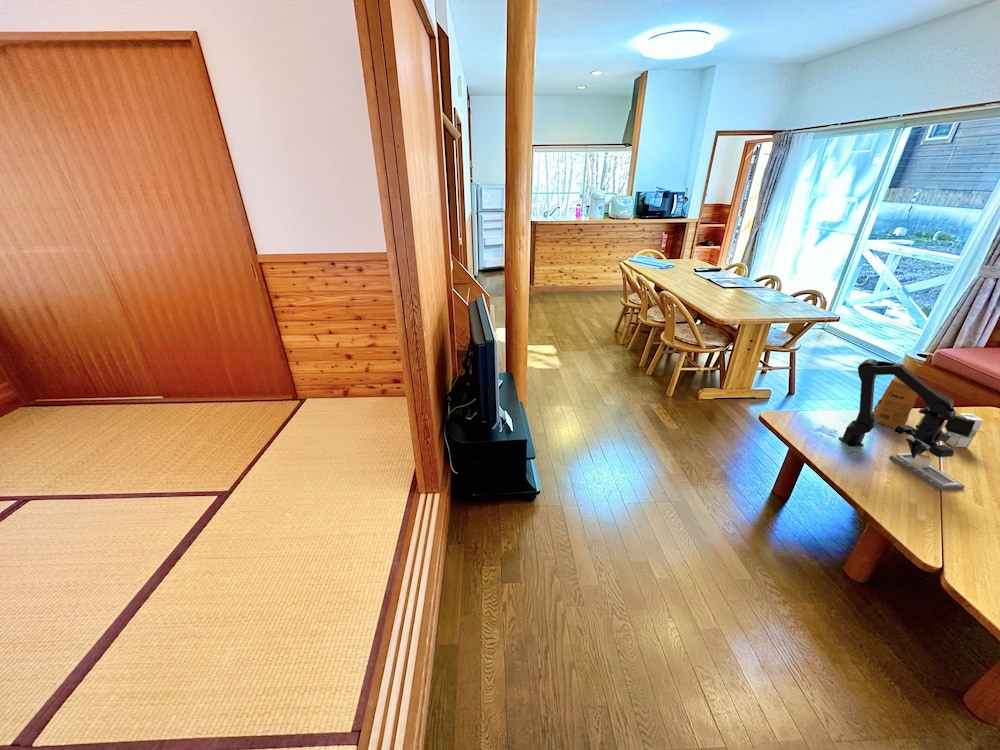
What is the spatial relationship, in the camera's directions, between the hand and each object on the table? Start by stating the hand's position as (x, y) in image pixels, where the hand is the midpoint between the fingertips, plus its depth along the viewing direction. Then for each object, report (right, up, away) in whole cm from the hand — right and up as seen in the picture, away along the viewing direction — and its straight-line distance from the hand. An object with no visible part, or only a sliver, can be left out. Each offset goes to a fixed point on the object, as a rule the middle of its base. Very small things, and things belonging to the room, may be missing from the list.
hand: (913, 457), depth 164 cm
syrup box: (+31, +3, +12) cm, 34 cm away
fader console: (0, -6, -4) cm, 7 cm away
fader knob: (0, -3, -2) cm, 4 cm away
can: (+22, +5, +17) cm, 28 cm away
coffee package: (+17, +11, +29) cm, 36 cm away
